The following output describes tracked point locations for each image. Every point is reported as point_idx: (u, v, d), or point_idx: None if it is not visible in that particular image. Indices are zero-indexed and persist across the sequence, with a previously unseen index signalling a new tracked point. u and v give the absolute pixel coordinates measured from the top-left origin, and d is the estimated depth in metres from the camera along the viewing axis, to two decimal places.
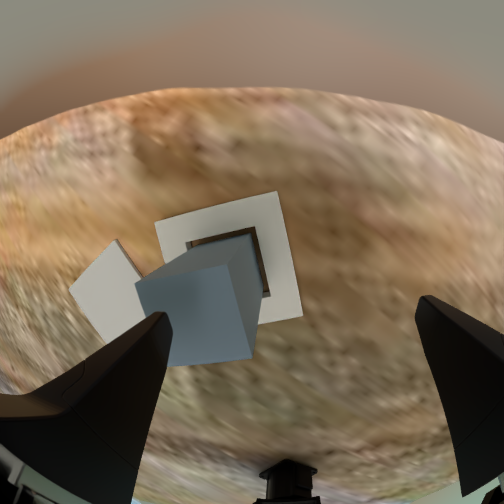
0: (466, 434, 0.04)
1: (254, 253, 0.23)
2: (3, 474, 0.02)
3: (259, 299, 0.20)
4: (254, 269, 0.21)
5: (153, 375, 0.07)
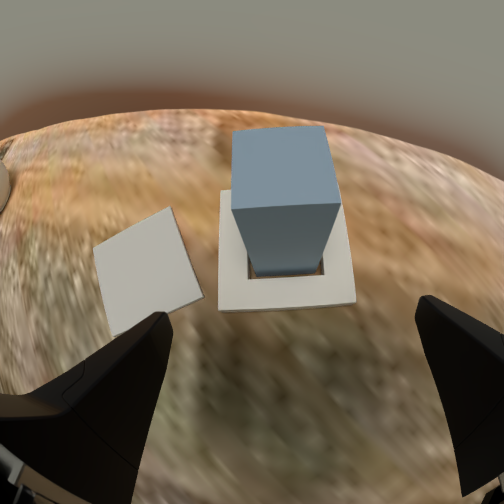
0: (467, 434, 0.04)
1: None
2: (3, 474, 0.02)
3: None
4: None
5: (153, 375, 0.07)
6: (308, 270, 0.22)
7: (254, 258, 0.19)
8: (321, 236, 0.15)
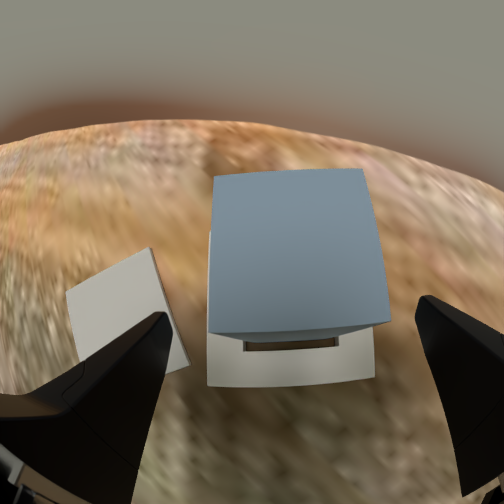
0: (467, 433, 0.04)
1: None
2: (3, 474, 0.02)
3: None
4: None
5: (153, 375, 0.07)
6: None
7: (251, 340, 0.14)
8: (344, 332, 0.10)
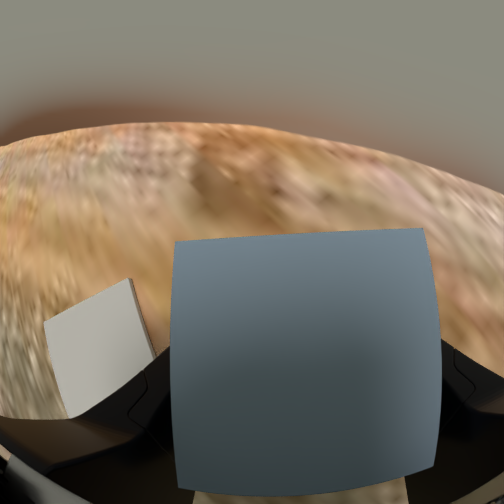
0: None
1: None
2: None
3: None
4: None
5: None
6: None
7: None
8: None
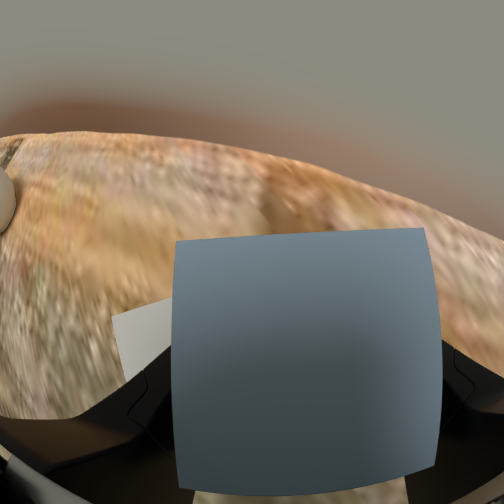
0: None
1: None
2: None
3: None
4: None
5: None
6: None
7: None
8: None
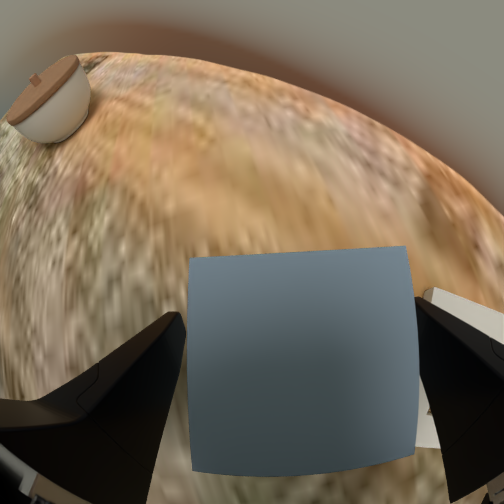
0: (454, 439, 0.04)
1: None
2: (16, 485, 0.02)
3: None
4: None
5: (167, 377, 0.07)
6: None
7: None
8: None
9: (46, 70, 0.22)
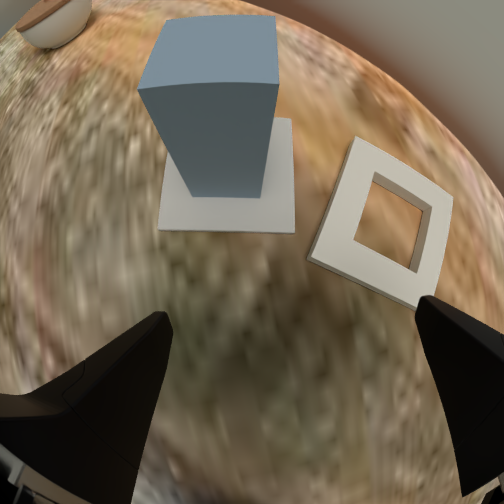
0: (467, 433, 0.04)
1: None
2: (3, 474, 0.02)
3: None
4: None
5: (153, 375, 0.07)
6: (251, 193, 0.19)
7: (182, 168, 0.15)
8: (259, 138, 0.12)
9: None
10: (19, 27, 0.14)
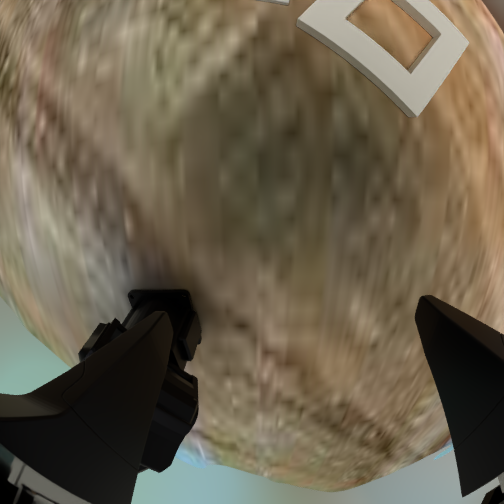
0: (467, 434, 0.04)
1: None
2: (3, 474, 0.02)
3: None
4: None
5: (153, 375, 0.07)
6: None
7: None
8: None
9: None
10: None
